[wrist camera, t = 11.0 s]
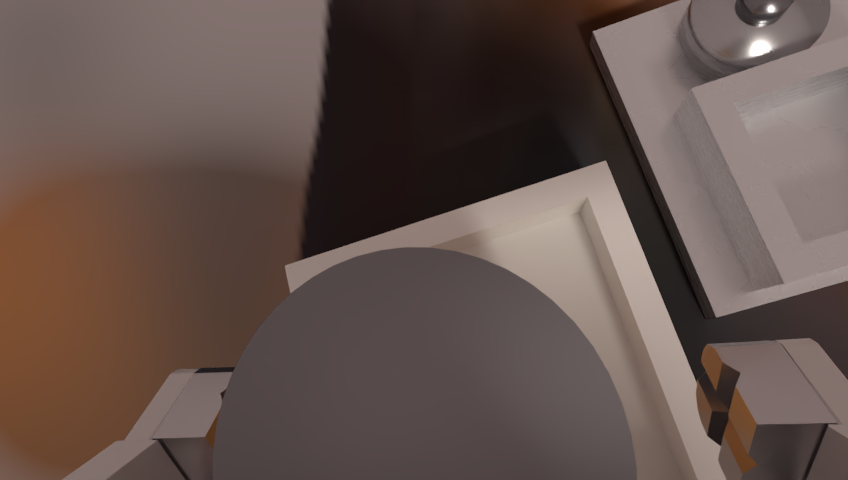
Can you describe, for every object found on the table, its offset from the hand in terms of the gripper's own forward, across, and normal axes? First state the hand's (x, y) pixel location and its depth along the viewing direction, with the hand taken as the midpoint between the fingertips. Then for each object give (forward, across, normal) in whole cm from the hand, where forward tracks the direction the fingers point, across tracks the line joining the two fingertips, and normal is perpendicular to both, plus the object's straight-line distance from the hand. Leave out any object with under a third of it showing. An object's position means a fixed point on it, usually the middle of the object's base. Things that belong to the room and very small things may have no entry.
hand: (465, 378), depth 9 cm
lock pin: (+6, 0, +7) cm, 9 cm away
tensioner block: (+13, -11, +2) cm, 17 cm away
